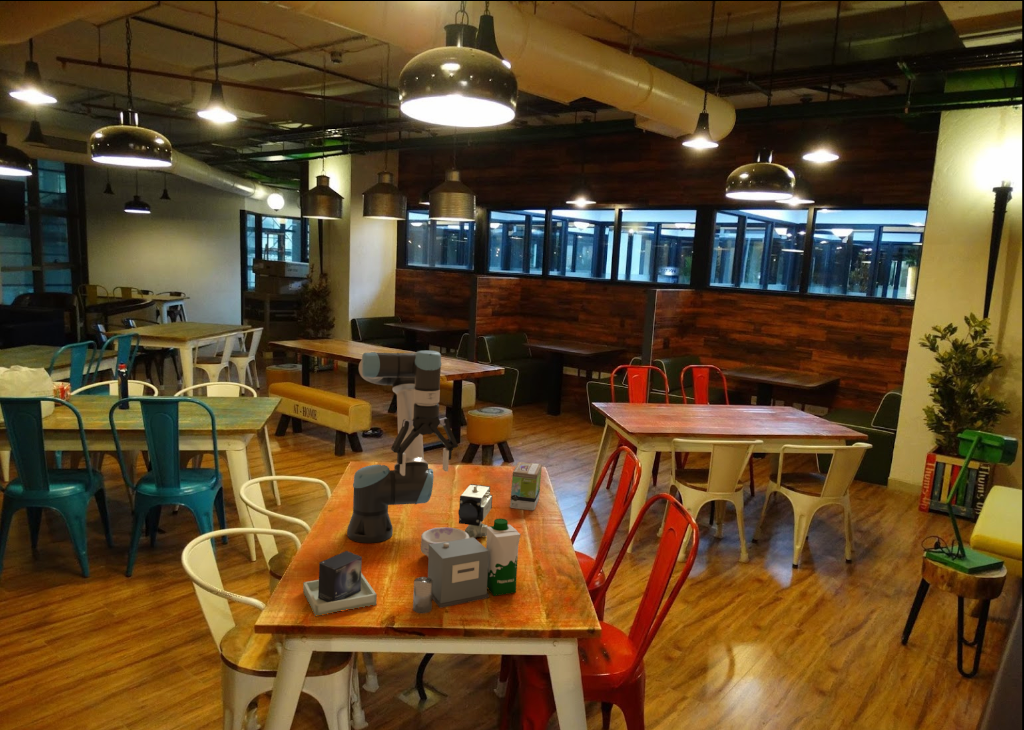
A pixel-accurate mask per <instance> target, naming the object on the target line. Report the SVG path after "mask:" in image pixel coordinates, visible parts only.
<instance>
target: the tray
mask: <svg viewBox="0 0 1024 730" xmlns="http://www.w3.org/2000/svg"><path fill="white" fill-rule="evenodd" d="M302 584H303V586H302V587H303V589H302V590H303V591H302V593H303V595H304V597H305V596H306V597H305V599H306V598H307V599H306V600H307V603H308V602H309V603H308V605H309V604H310V605H309V607H310V606H311V607H310V609H311V608H312V609H311V610H313V611H312V613H313V612H314V613H313V615H314V614H315V615H314V617H315V616H316V615H322V614H327V613H332V612H337V611H341V610H346V609H353V610H355V609H354V608H358V609H360V608H359V607H363V608H366V607H365V606H368V607H371V606H370V605H373V606H376V605H377V602H378V601H377V599H378V597H377V595H378V594H377V593H376V592H375V590H374V589H373V587H372V586H371V584H370V583H369V582H368V580H367V579H366V577H365V575H364V574H363V573H362V572H361V591H360V592H358V593H356V594H354V595H352V596H350V597H348V598H346V599H343V600H338V601H332V602H326V601H324V600H321V599H319V598H318V592H319V579H315V580H310V581H309V580H308V581H303V583H302ZM337 613H338V612H337ZM332 614H333V613H332ZM327 615H328V614H327ZM322 616H323V615H322Z"/></svg>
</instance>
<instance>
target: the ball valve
mask: <svg viewBox="0 0 1024 730" xmlns="http://www.w3.org/2000/svg"><path fill="white" fill-rule="evenodd" d="M492 508H493V494H491V486H490V485H482V484H474V483H473V484H472V483H470V484H469V485H468V486H467V487H466V489H465V490H464V492H462V493H461V495H459V508H458V511H457V513H458V524H462V525H467V526H466V528H465V529H464V531H465V532H466V533H468V535H469V538H473V537H474V538H475V539H476V538H483V537H484V538H487V527H489V526H488V524H484V523H483V522H484V520H485V518H486V517H487V515H488V514H489V513H490V512H491V510H492Z"/></svg>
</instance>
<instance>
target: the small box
mask: <svg viewBox="0 0 1024 730" xmlns="http://www.w3.org/2000/svg"><path fill="white" fill-rule="evenodd" d="M362 560H363V558H362V556H360V555H359V554H355V553H353V552H351V551H348V550H345V551H343V552H341V553H338V554H336V555H334V556H331V557H330V558H326V559H325V560H322V561H320V562H318V580H319V592H318V598H319V599H321V600H324V601H326V602H332V601H338V600H343V599H346V598H348V597H350V596H352V595H354V594H356V593H358V592H360V591H361V573H362V563H363V562H362Z"/></svg>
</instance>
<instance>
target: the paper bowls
mask: <svg viewBox="0 0 1024 730" xmlns="http://www.w3.org/2000/svg"><path fill="white" fill-rule="evenodd" d="M420 536H421V537H420V540H421V541H420V551H421V554H423V555H425V556H426V557H427V559H428V558H429V544H436V543H442V542H448V541H455V540H461V539H467V538H469V535H468V533H466V532H465V530H464V529H460V528H455V527H433V528H430V529H428V530H425V531H424V532H422V533H421V535H420Z"/></svg>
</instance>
